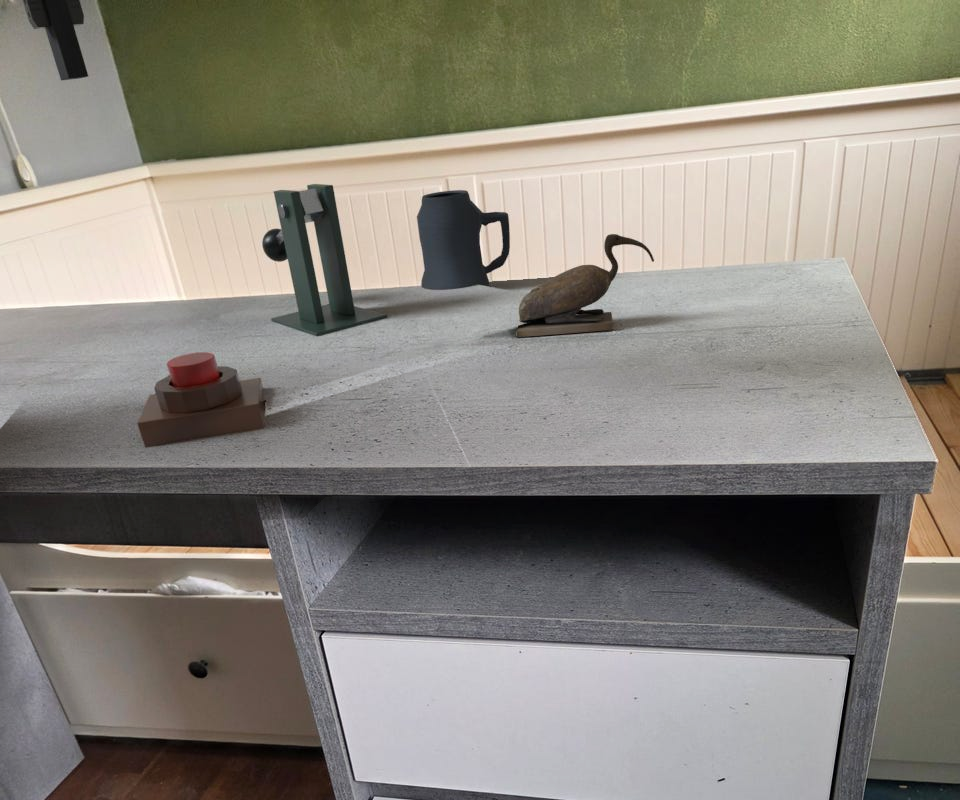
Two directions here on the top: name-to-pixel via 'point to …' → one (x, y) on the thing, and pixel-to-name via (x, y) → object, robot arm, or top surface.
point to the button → (193, 369)
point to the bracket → (333, 263)
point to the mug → (456, 241)
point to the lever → (274, 237)
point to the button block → (202, 409)
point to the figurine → (572, 298)
